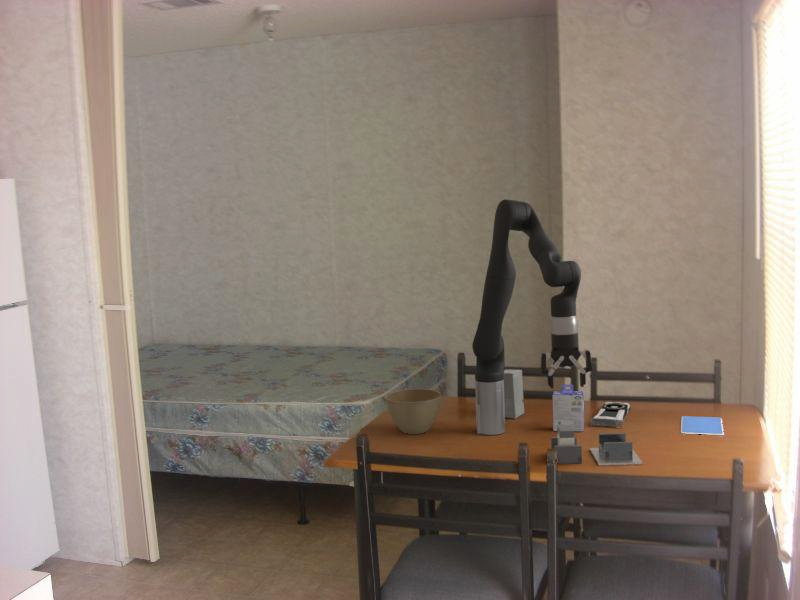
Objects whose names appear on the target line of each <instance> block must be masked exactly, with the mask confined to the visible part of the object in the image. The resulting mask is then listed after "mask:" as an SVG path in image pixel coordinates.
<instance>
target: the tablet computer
mask: <svg viewBox="0 0 800 600" xmlns="http://www.w3.org/2000/svg"><path fill="white" fill-rule="evenodd" d="M680 420H681V421H680V434H681V433H683V434H682V435H685V434H706V435H724V436H725V431H724V424H722V423H723V418H722V417H714V416H713V417H711V416H690V415H683V416H681V419H680ZM723 431H724V432H723ZM684 433H685V434H684Z"/></svg>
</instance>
